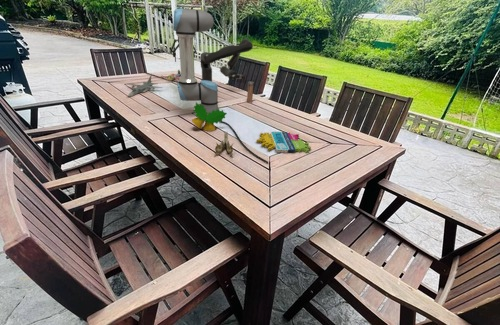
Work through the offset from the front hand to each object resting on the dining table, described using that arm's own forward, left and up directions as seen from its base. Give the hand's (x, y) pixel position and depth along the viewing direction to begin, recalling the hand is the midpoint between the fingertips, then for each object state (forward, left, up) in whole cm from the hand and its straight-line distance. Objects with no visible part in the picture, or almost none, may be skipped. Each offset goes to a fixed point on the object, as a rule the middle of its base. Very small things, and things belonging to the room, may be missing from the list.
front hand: (184, 61), depth 211 cm
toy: (+69, +7, -28) cm, 75 cm away
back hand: (0, -47, -13) cm, 49 cm away
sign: (-102, -48, -28) cm, 117 cm away
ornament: (-76, -10, -28) cm, 81 cm away
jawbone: (-108, -13, -28) cm, 112 cm away
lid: (-20, -52, -12) cm, 56 cm away
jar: (-20, -52, -28) cm, 62 cm away
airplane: (+17, +36, -28) cm, 48 cm away
